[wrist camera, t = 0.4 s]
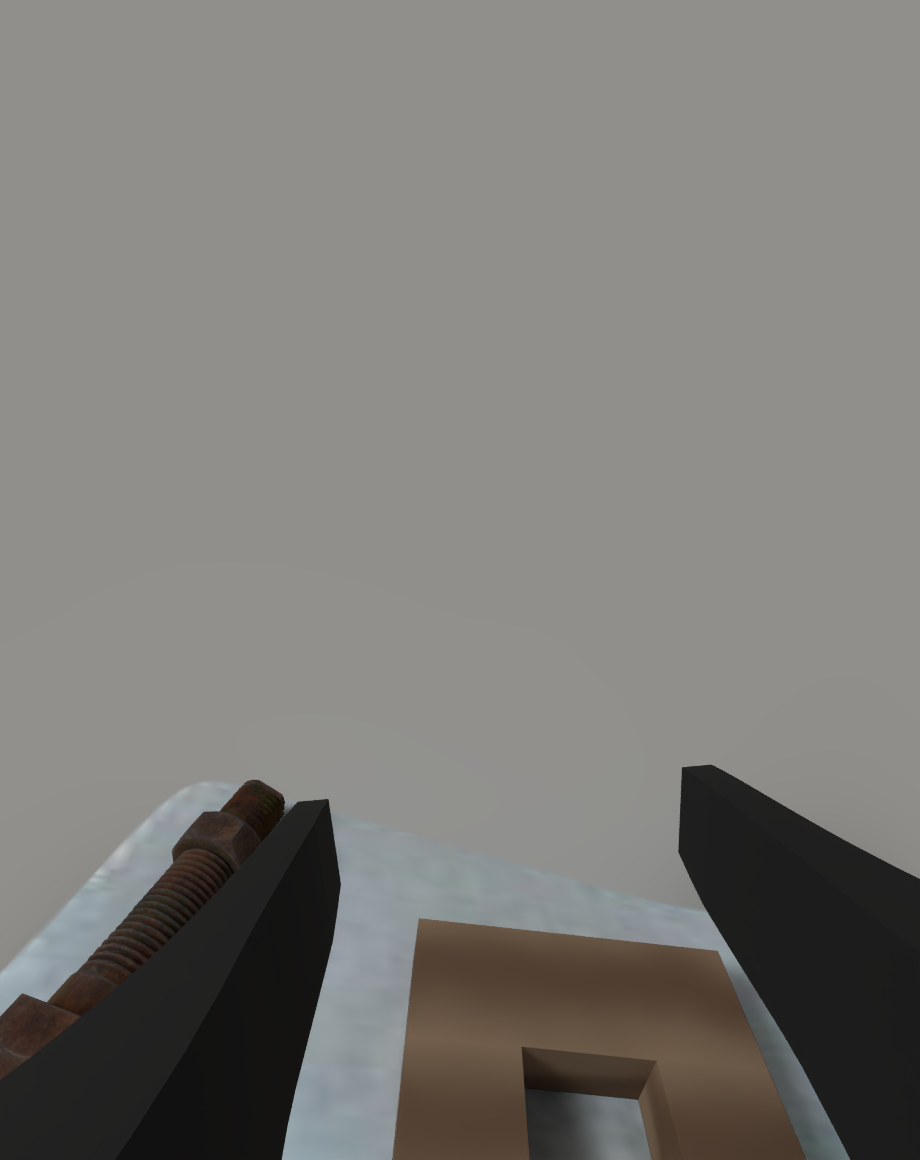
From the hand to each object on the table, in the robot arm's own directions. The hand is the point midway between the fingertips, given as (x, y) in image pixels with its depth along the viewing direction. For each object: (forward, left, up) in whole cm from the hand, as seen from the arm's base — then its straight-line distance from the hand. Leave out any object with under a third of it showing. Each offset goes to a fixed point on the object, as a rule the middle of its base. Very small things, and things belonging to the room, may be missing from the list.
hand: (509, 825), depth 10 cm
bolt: (+9, +13, -20) cm, 26 cm away
